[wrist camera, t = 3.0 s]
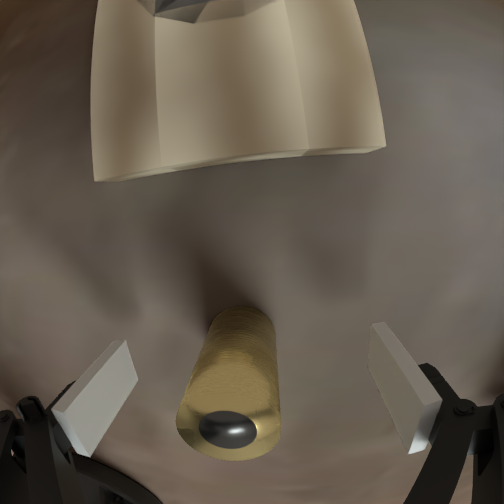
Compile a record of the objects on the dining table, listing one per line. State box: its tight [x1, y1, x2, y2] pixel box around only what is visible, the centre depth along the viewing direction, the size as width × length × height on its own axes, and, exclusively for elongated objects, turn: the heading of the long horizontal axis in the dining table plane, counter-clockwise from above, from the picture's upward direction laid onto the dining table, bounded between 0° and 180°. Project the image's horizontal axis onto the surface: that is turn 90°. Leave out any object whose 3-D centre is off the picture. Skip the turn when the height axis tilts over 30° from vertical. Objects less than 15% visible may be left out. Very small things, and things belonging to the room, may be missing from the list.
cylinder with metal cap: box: [176, 306, 281, 461], centre depth 14 cm, size 4×4×8 cm
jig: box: [91, 0, 386, 182], centre depth 12 cm, size 14×18×3 cm
